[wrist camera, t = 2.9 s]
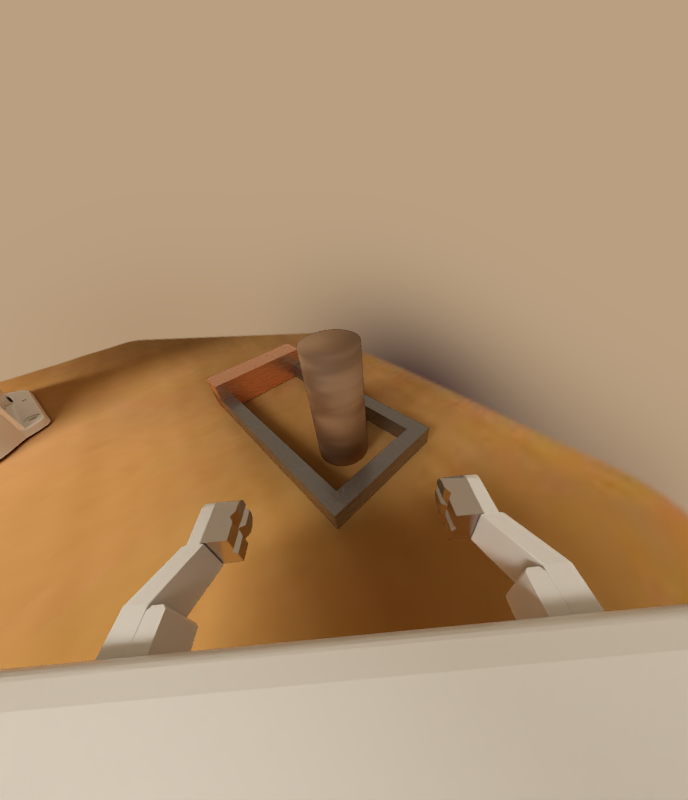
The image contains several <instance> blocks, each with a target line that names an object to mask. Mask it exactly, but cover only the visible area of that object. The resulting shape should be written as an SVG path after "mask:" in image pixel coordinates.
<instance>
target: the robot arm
mask: <svg viewBox="0 0 688 800" xmlns="http://www.w3.org/2000/svg"><path fill="white" fill-rule="evenodd" d="M49 423H50V419H49V417H48V416H47V414H46V413H45V411H44V410H43V408H42V407H41V405H40V404H39V402H38V401H37V399H36V398H35V396H34V395H33V394H32V393H31V392H29V391H28V390H21V391H15V392H10V393H6V394H5V393H4V392H3V391H1V390H0V459H1V458H3V457H4V456H5V455H7V454H8V453H9V452H11V451H12V450H13V449H14V448H15V447H16V446H18V445H19V444H20V443H21V442H22V441H24V440H25V439H26V438H28V437H29V436H31V435H33V434H34V433H36V432H38V431H39V430H41V429H42V428H44V427H45V426H47V425H48V424H49ZM437 485H438V488H437V489H436V491H435V499H436V504H437V507H438V510H439V513H441V514H442V515H443V516H444V522H443V524H444V527H445V529H446V532H447V535H448V537H449V540H451V539H464V538H471V540H472V541H473V542H474V543H475V544H476V545H477V546H478V547H479V548H480V549H481V550H482V551H483V552H484V553H485V554H486V555H487V556H488V557H489V558H490V559H491V560H492V561H493V562H494V563H495V564H496V565H497V566H498V567H499V568H500V569H501V570H502V571H503V572H504V573H505V574H506V575H507V576H508V577H509V578H510V579H511V580H512V581H513V582H514V584H513V586H512V587H511V588H510V589H509V591H508V592H507V594H506V596H505V597H506V599H507V602H508V604H509V606H510V608H511V611H512V613H513V615H514V617H515V619H516V620H510V621H499V622H489V623H479V624H468V625H458V626H447V627H437V628H426V629H416V630H405V631H395V632H385V633H374V634H364V635H353V636H343V637H332V638H322V639H312V640H301V641H291V642H280V643H270V644H259V645H249V646H238V647H228V648H218V649H207V650H197V651H191V648H192V645H193V641H194V638H195V635H196V631H197V628H198V626H197V624H196V623H195V622H193V621H192V620H190V619H188V618H187V616H188V615H189V613H190V612H191V610H192V609H193V607H194V606H195V605H196V603H197V602H198V600H199V599H200V598H201V596H202V595H203V593H204V592H205V591H206V589H207V588H208V586H209V585H210V584H211V582H212V581H213V579H214V578H215V577H216V575H217V574H218V572H219V571H220V570H221V568H222V567H223V564H225V563H233V562H240V561H244V559H245V555H246V551H247V546H248V542H247V540H246V538H247V536H248V535H249V534H250V533H251V529H252V514H251V512H250V510H248V509H246V508H245V506H246V504H245V502H244V501H243V500H238V501H229V502H217V503H209V504H205V505H204V506H203V507H202V509H201V511H200V514H199V516H198V519H197V521H196V523H195V526H194V528H193V530H192V533H191V535H190V538H189V540H188V542H187V545H186V546H182V547H181V548H180V549H179V550H178V551H177V552H176V553H175V554H174V555H173V556H172V557H171V558H170V559H169V560H168V561H167V562H166V563H165V564H164V565H163V566H162V567H161V568H160V569H159V570H158V572H157V573H156V574H155V575H154V576H153V577H152V578H151V579H150V580H149V581H148V582H147V583H146V584H145V585H144V586H143V587H142V588H141V589H140V590H139V591H138V592H137V593H136V594H135V595H134V596H133V597H132V598H131V599H130V600H129V601H128V602H127V603H126V604H125V605H124V606H123V607H122V609H121V611H120V613H119V615H118V617H117V619H116V621H115V623H114V625H113V627H112V629H111V631H110V633H109V635H108V637H107V639H106V641H105V642H104V644H103V646H102V648H101V650H100V652H99V654H98V656H97V658H96V660H92V661H82V662H71V663H61V664H51V665H40V666H30V667H19V668H9V669H0V800H688V603H687V604H677V605H666V606H656V607H646V608H635V609H625V610H614V611H605V610H604V609H603V607H602V606H601V604H600V603H599V602H598V600H597V599H596V597H595V596H594V594H593V593H592V591H591V590H590V588H589V587H588V585H587V584H586V583H585V581H584V580H583V578H582V577H581V575H580V574H579V572H578V571H577V569H576V568H575V566H574V565H573V564H572V562H571V561H569V560H568V559H567V558H565V557H564V556H562V555H561V554H560V553H558V552H557V551H556V550H554V549H553V548H552V547H550V546H549V545H547V544H546V543H545V542H543V541H542V540H541V539H539V538H538V537H537V536H535V535H534V534H532V533H531V532H530V531H528V530H527V529H526V528H524V527H523V526H522V525H520V524H519V523H517V522H516V521H515V520H513V519H512V518H511V517H509V516H508V515H507V514H505V513H504V512H499V511H498V509H497V507H496V506H495V504H494V502H493V500H492V499H491V497H490V495H489V493H488V492H487V490H486V488H485V486H484V484H483V483H482V481H481V479H480V477H479V476H478V475H477V474H471V475H460V476H452V477H445V478H439V479H438V480H437Z"/></svg>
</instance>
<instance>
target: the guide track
mask: <svg viewBox="0 0 688 800" xmlns="http://www.w3.org/2000/svg"><path fill="white" fill-rule="evenodd" d="M295 376H296V377H298V378H299V379H301V380H303V381H304V378H303V374H302V369H301V365H300V361H299V356H298V352H297V348H295V347H293V346H291V345H289V344H284V345H282V346H280V347H278V348H275V349H273V350H271V351H268V352H266V353H264V354H262V355H259V356H257V357H255V358H252V359H250V360H248V361H246V362H243V363H241V364H239V365H236V366H234V367H232V368H230V369H227V370H225V371H223V372H220V373H218V374H216V375H214V376H211V377H209V378H207V381H208V383H209V385H210V387H211V389H212V391H213V393H214V394H215V396H216V398H217V400H218V402H219V404H220V405H221V406H222V407H223V408H224V409H225V410H226V411H227V412H228V413H229V414H230V415H231V416H232V417H233V418H234V419H235V421H236V422H237V423H238V424H239V425H240V426H241V427H242V428H243V429H244V430H245V431H246V432H247V433H248V434H249V435H250V436H251V438H252V439H253V440H254V441H255V442H256V443H257V444H258V445H259V446H260V447H261V448H262V449H263V450H264V451H265V452H266V454H267V455H268V456H269V457H270V458H271V459H272V460H273V461H274V462H275V463H276V464H277V465H278V466H279V467H280V468H281V469H282V471H283V472H284V473H285V474H286V475H287V476H288V477H289V478H290V479H291V480H292V481H293V482H294V483H295V484H296V485H297V486H298V488H299V489H300V490H301V491H302V492H303V493H304V494H305V495H306V496H307V497H308V498H309V499H310V500H311V501H312V502H313V503H314V505H315V506H316V507H317V508H318V509H319V510H320V511H321V512H322V513H323V514H324V515H325V516H326V517H327V518H328V519H329V520H330V522H331V523H332V524H333V525H334V526H335V527H336V528H337V529H339V528H340V527H341V526H342V525H343V524H344V523H345V522H346V521H347V520H348V519H349V518H350V517H351V516H352V515H353V514H354V513H355V512H356V511H357V510H358V509H359V508H360V507H361V506H362V505H363V504H364V503H365V502H366V501H367V500H368V499H369V498H370V497H371V496H372V495H373V494H374V493H375V492H376V491H377V490H378V489H379V488H380V487H381V486H382V485H383V484H384V483H385V482H386V481H387V480H388V479H390V478H391V477H392V476H393V475H394V474H395V473H396V472H397V471H398V470H399V469H400V468H401V467H402V466H403V465H404V464H405V463H406V462H407V461H408V460H409V459H410V458H411V457H412V456H413V455H414V454H415V453H416V452H417V451H418V450H419V449H420V448H421V447H422V446H423V445H424V444H425V443H426V442H427V437H428V430H429V428H428V427H426V426H424V425H422V424H420V423H418V422H416V421H414V420H412V419H411V418H409V417H407V416H405V415H403V414H401V413H399V412H397V411H395V410H393V409H392V408H390V407H388V406H386V405H384V404H382V403H380V402H378V401H376V400H374V399H373V398H371V397H369V396H367V395H365V394H364V399H365V416H366V419H367V420H369V421H371V422H372V423H374V424H376V425H377V426H379V427H381V428H382V429H384V430H386V431H387V432H389V433H391V434H392V435H394V436H396V437H397V438H396V439H395V440H394V441H393V442H392V443H391V444H389V445H388V446H387V447H386V448H385V449H384V450H383V451H382V452H380V453H379V454H378V455H377V456H376V457H375V458H374V459H372V460H371V461H370V462H369V463H368V464H367V465H366V466H364V467H363V468H362V469H361V470H360V471H359V472H358V473H356V474H355V475H354V476H353V477H352V478H351V479H350V480H349V481H347V482H346V483H345V484H344V485H343V486H342V487H341V488H339V489H338V490H337V491H336V490H335V489H334V488H332V487H331V486H330V485H329V484H328V483H327V482H326V481H325V480H324V479H323V478H322V477H321V476H320V475H319V474H317V473H316V472H315V471H314V470H313V469H312V468H311V467H310V466H309V465H308V464H307V463H306V462H305V461H303V460H302V459H301V458H300V457H299V456H298V455H297V454H296V453H295V452H294V451H293V450H292V449H291V448H289V447H288V446H287V445H286V444H285V443H284V442H283V441H282V440H281V439H280V438H279V437H278V436H277V435H276V434H274V433H273V432H272V431H271V430H270V429H269V428H268V427H267V426H266V425H265V424H264V423H263V422H262V421H260V420H259V419H258V418H257V417H256V416H255V415H254V414H253V413H252V412H251V411H250V410H249V409H248V408H246V407H245V406H244V405H243V403H245V402H247V401H249V400H251V399H253V398H254V397H256V396H258V395H260V394H262V393H264V392H266V391H268V390H270V389H272V388H274V387H275V386H277V385H279V384H281V383H283V382H285V381H287V380H289V379H291V378H293V377H295Z"/></svg>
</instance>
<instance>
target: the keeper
mask: <svg viewBox="0 0 688 800" xmlns="http://www.w3.org/2000/svg"><path fill="white" fill-rule="evenodd" d="M297 352H298V356H299V361H300V365H301V369H302V374H303V378H304V382H305V387H306V391H307V395H308V400H309V404H310V408H311V413H312V417H313V421H314V426H315V430H316V435H317V439H318V443H319V448H320V452H321V455H322V457H323V458H324V459H325V460H326V461H327V462H328V463H330V464H333V465H336V466H347V465H351V464H354V463H356V462H358V461H359V460H361V459H362V458H363V456H364V455H365V453H366V451H367V432H366V416H365V399H364V383H363V366H362V349H361V338H360V336H359V335H358V334H356V333H354V332H352V331H348V330H342V329H332V330H323V331H319V332H315V333H312V334H310V335H308V336H306V337H304V338H303V339H301V340H300V341H299V342H298V344H297Z"/></svg>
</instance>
